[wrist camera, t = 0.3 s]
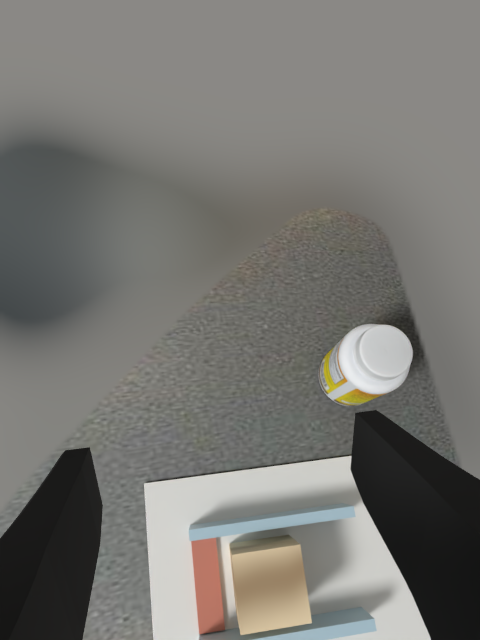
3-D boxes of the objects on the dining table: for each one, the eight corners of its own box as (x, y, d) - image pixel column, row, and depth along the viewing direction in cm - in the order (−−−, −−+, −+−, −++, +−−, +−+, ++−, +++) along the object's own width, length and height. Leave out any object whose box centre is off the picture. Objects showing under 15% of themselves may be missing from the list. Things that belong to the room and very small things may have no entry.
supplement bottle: (387, 379, 43) (440, 354, 33) (346, 419, 42) (389, 405, 32) (345, 336, 44) (384, 299, 34) (304, 373, 43) (332, 346, 33)
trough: (363, 618, 37) (376, 630, 34) (200, 645, 35) (199, 661, 32) (342, 503, 39) (353, 506, 36) (189, 525, 38) (188, 529, 35)
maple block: (298, 602, 37) (312, 623, 32) (236, 612, 36) (240, 635, 31) (288, 534, 38) (300, 544, 33) (228, 543, 38) (231, 554, 33)
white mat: (463, 685, 36) (465, 687, 36) (160, 742, 34) (159, 745, 33) (409, 448, 41) (411, 447, 41) (144, 483, 39) (144, 483, 38)
